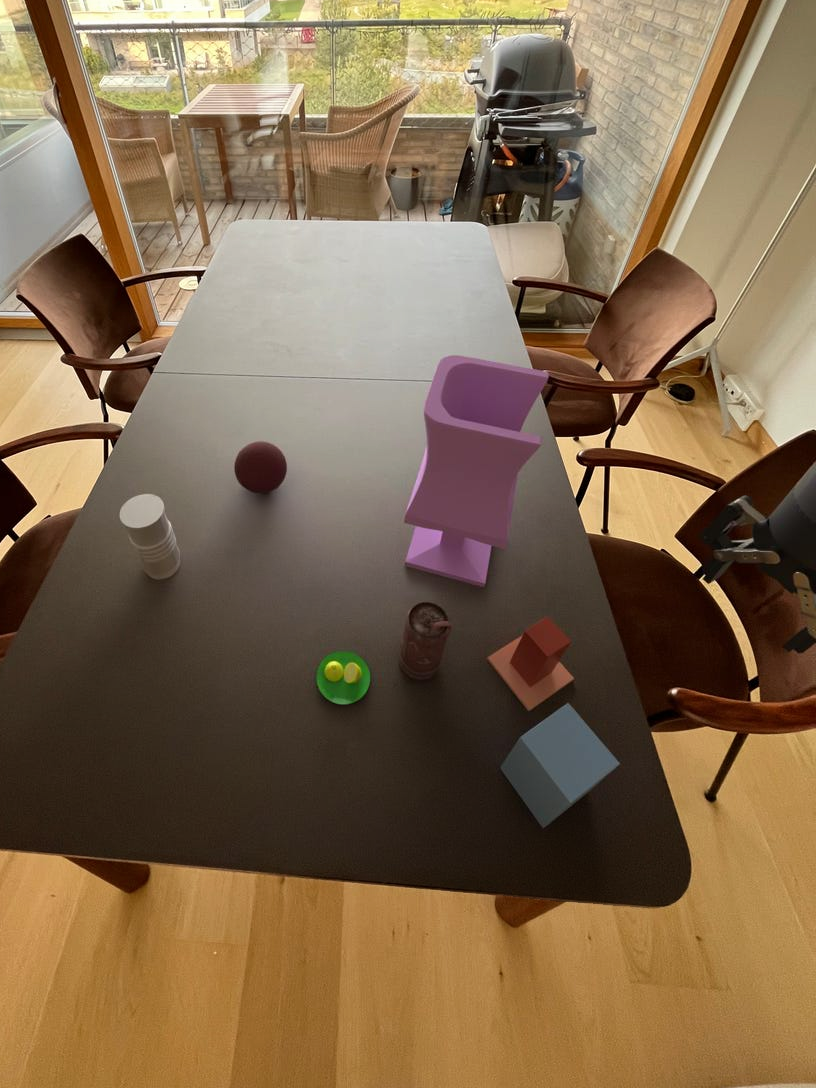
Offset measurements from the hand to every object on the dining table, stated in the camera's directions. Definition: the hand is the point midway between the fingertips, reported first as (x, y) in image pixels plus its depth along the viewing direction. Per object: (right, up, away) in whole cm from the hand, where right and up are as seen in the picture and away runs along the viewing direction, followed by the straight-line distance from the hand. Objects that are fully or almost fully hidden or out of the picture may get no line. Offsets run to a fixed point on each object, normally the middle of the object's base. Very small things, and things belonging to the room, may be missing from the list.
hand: (748, 610), depth 57 cm
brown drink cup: (-29, -17, +29) cm, 44 cm away
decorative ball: (-56, +9, +55) cm, 79 cm away
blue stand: (-14, -28, +18) cm, 36 cm away
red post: (-12, -17, +28) cm, 35 cm away
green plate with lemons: (-41, -18, +28) cm, 52 cm away
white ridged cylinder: (-72, -4, +42) cm, 83 cm away
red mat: (-12, -17, +29) cm, 36 cm away
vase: (-21, -1, +45) cm, 50 cm away
